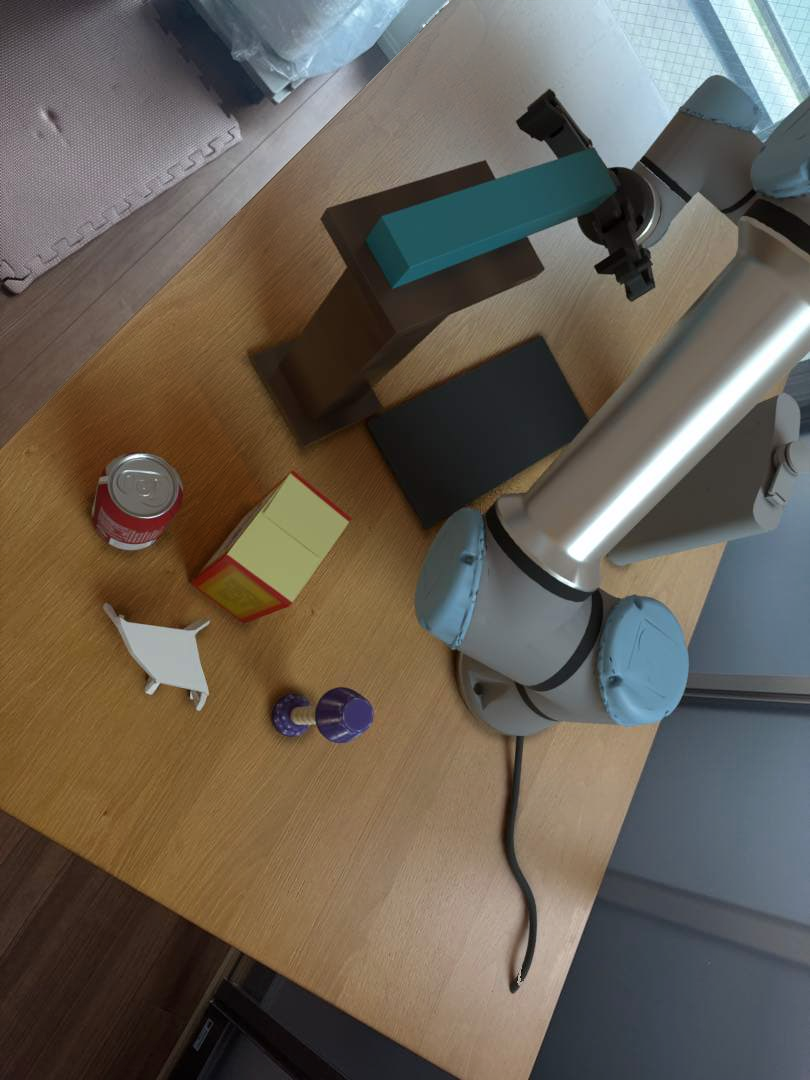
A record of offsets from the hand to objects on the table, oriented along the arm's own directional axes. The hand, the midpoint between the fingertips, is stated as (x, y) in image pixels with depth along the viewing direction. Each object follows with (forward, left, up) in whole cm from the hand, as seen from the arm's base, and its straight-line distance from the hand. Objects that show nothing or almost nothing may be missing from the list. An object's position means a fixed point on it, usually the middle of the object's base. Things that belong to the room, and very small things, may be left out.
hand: (570, 187), depth 60 cm
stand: (-11, +7, -31) cm, 34 cm away
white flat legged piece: (-44, +9, -31) cm, 55 cm away
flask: (-1, -38, -31) cm, 49 cm away
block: (-7, +5, -1) cm, 9 cm away
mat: (-3, -13, -31) cm, 34 cm away
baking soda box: (-33, +5, -31) cm, 46 cm away
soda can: (-34, +17, -31) cm, 49 cm away
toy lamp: (-44, -6, -31) cm, 55 cm away
